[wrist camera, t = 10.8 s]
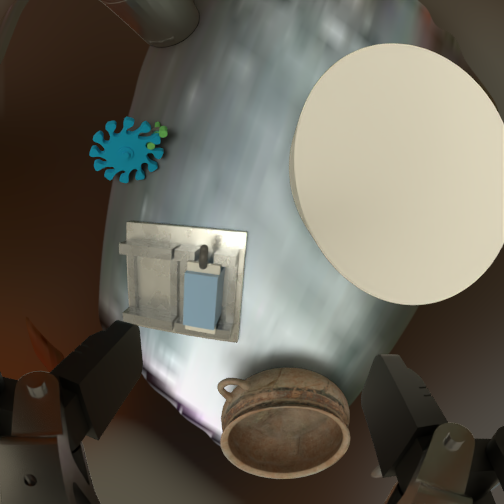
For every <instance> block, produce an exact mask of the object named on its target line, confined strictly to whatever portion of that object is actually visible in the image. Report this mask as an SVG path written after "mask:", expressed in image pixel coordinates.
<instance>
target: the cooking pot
mask: <svg viewBox="0 0 504 504" xmlns="http://www.w3.org/2000/svg"><path fill="white" fill-rule="evenodd" d="M227 385H238V386H237V387H236V388H235V389H234V390H233V391H232V392H231V393H230V392H228V391H226V390H225V389H224V387H225V386H227ZM218 391H219V393H220V394H221V395H222V396H223V397H224V398H225V399H226V402H225V404H224V406H223V410H222V416H221V421H222V430H223V433H222V436H221V441H220V442H221V448H222V451H223V453H224V455H225V456H226V457H227V459H228V460H229V461H230V462H232V463H233V464H234V465H235V466H237V467H238V468H240V469H242V470H244V471H246V472H248V473H251V474H254V475H257V476H261V477H266V478H275V479H289V478H298V477H304V476H307V475H311V474H315V473H317V472H320V471H322V470H324V469H326V468H328V467H330V466H331V465H333V464H334V463H335V462H337V461H338V460H339V459H340V458H341V457H342V456H343V455H344V453H345V452H346V451H347V449H348V446H349V444H350V434H349V430H348V425H349V414H350V413H349V407H348V403H347V400H346V398H345V396H344V394H343V392H342V391H341V390H340V389H339V388H338V387H337V386H336V385H335V384H334V383H333V382H332V381H330V380H329V379H328V378H326V377H325V376H323V375H320V374H318V373H316V372H313V371H310V370H307V369H301V368H288V367H284V368H275V369H270V370H266V371H262V372H260V373H257V374H255V375H253V376H251V377H249V378H247V379H246V380H242V379H237V378H226V379H224V380H222V381H221V382H219V384H218Z"/></svg>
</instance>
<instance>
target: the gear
mask: <svg viewBox="0 0 504 504" xmlns="http://www.w3.org/2000/svg"><path fill="white" fill-rule="evenodd" d="M116 124H117V123H116V121H109V122H107V124H106V130H107V131H108V132H109V134H110V140H109V141H105V140H104V138H103V132H102V131H98V132H97V133H96V134H95V135H94V137H93V140H94V142H97V143H99V144H101V145H102V146H103V147H104V149H105V151H100V150H99V148H98V147H97V146H95V145H94V146H92V148H91V151H90V156H91V157H97V156H99V157H102V158H105V159H106V160H107V161H105V162H104V161H101V160H99V159H97V160H95V162H94V168H95V170H96V171H98V170H101V169H102V168H104V167H114V169H108V170H106V171H105V175H104V176H105V177H106V178H107V179H108V180H111V179H113V176H114V175H115V174H116V173H117V172H119V171H122V170H123V171H125V173H122V174H121V175H120V182H123V183H128V181H129V173H130V172H131V170H133V169H137V170H138V171H137V172H136V176H135V178H136V180H142V179H144V178H145V172H144V171H143V170H142V168H141V164H142V163H147V164H148V170H149V171H150V172H153V171H154V170H156V169H157V168H158V165H157V162H155V161H153V160H151V159H150V158H149V157H148V156H147V154H148V153H152V154H153V155H154V156H155V158H157V159H160V158H161V157H162V155H163V148H155V144H156V145H157V144H160V139H161V138H164V137H166V136H167V127H166V126H161V127H160V122H156V123H155V128H152V129H151V126H150V124H149V123H148V122H147V121H144V122H142V124H141V126H140V127H139V128H138V129H137V130H135V131H127V129H128V128H130V127H132V126H133V125H134V119H133V118H131V117H126V118H125V119H124V123H123V124H124V128H123V129H122V131H121V132H120V133H119V134H116V133H114V130H115V128H116ZM146 143H147V144H146Z"/></svg>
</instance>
